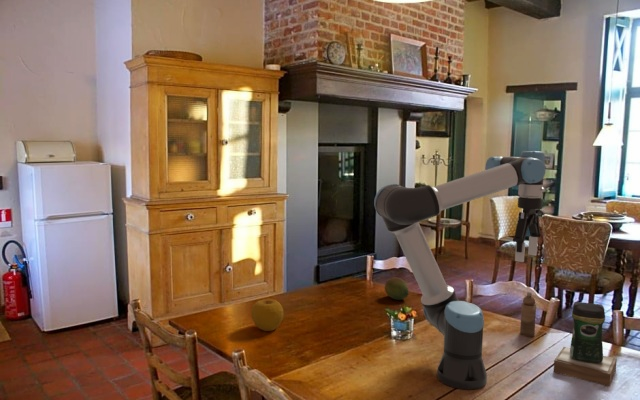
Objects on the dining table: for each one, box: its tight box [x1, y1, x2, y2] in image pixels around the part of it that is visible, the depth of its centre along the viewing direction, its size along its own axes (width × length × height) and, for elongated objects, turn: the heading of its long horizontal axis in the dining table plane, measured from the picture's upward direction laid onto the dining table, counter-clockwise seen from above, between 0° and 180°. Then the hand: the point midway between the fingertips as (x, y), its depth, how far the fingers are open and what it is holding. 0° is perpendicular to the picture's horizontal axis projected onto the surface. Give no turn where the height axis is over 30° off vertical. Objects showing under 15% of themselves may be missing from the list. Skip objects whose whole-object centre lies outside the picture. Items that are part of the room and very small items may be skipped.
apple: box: [250, 298, 284, 332], centre depth 201 cm, size 13×13×11 cm
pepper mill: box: [519, 291, 537, 338], centre depth 197 cm, size 5×5×17 cm
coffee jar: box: [569, 301, 606, 363], centre depth 164 cm, size 10×8×19 cm
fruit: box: [384, 276, 409, 301], centre depth 241 cm, size 12×13×10 cm
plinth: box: [553, 346, 617, 387], centre depth 165 cm, size 14×16×4 cm
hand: (526, 258), depth 174 cm, fingers open, 13 cm apart
